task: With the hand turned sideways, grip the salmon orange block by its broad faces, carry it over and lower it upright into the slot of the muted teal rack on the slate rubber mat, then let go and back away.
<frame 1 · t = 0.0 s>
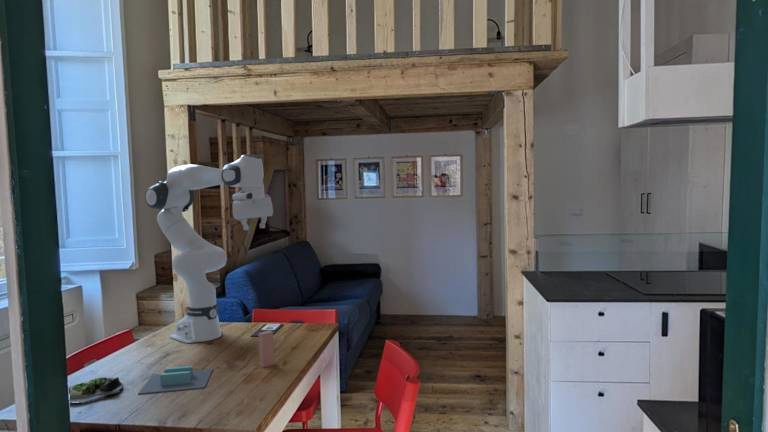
hand: (254, 229, 195), 48 cm above the table, tool pointing down, fingers open, 8 cm apart
salmon orange block: (267, 364, 176), on the table
salad plate: (94, 394, 155), on the table
chocolate bar: (267, 332, 218), on the table
mat: (177, 381, 162), on the table
slotted rack: (177, 375, 162), on the mat
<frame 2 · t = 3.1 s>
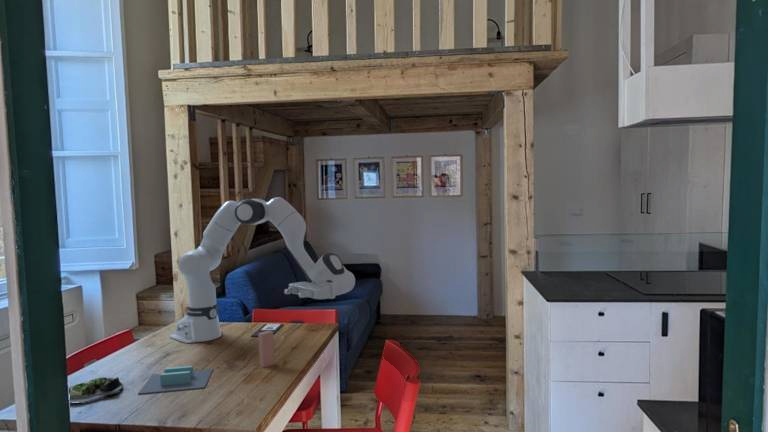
hand: (292, 293, 183), 24 cm above the table, tool horizontal, fingers open, 8 cm apart
nothing on the table moved.
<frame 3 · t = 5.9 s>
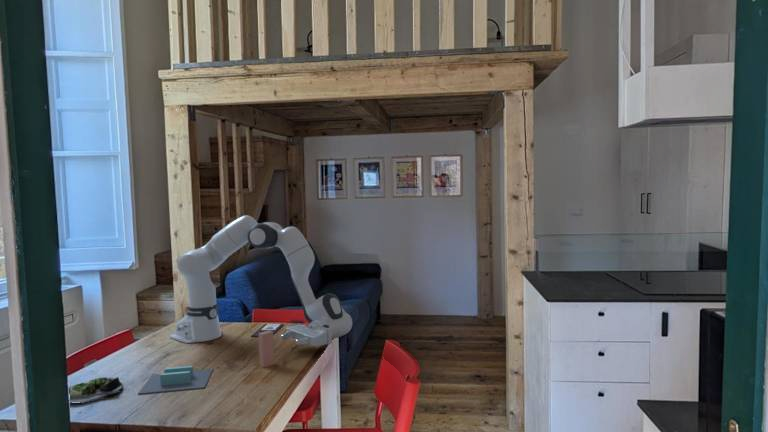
hand: (288, 339, 182), 7 cm above the table, tool horizontal, fingers open, 8 cm apart
nothing on the table moved.
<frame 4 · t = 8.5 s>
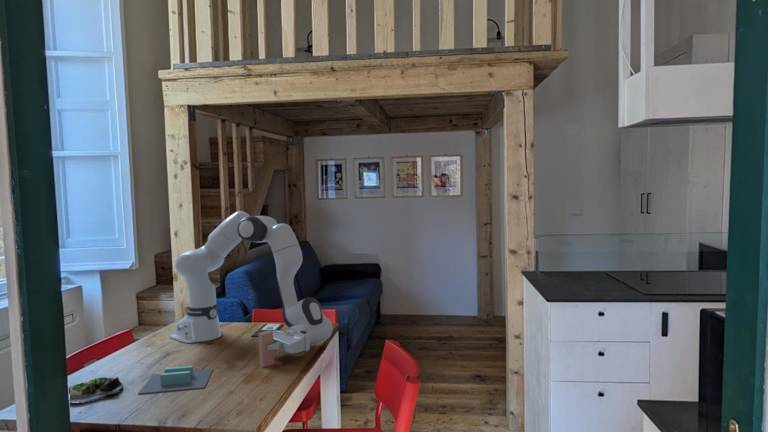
hand: (264, 346, 175), 7 cm above the table, tool horizontal, fingers closed on salmon orange block, 2 cm apart
salmon orange block: (267, 364, 176), on the table, touching gripper
everything else where it was.
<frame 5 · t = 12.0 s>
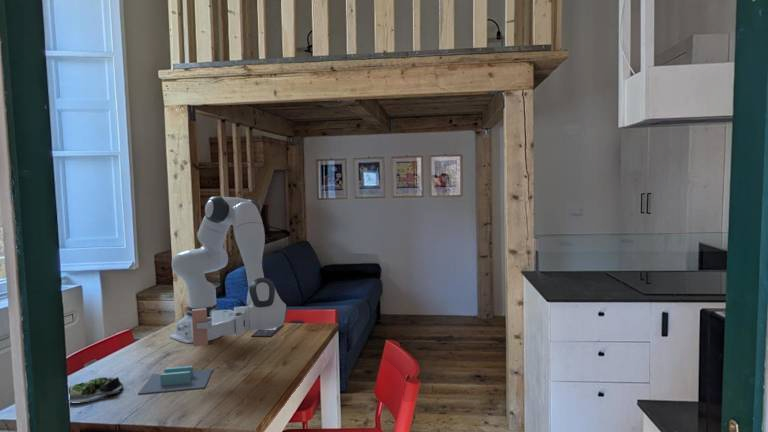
hand: (196, 324, 163), 19 cm above the table, tool horizontal, fingers closed on salmon orange block, 2 cm apart
salmon orange block: (200, 344, 163), point 12 cm above the table, touching gripper
everything else where it was.
when the fingers open (8 cm above the table, at t = 15.5 s): salmon orange block drops 1 cm, resting on mat.
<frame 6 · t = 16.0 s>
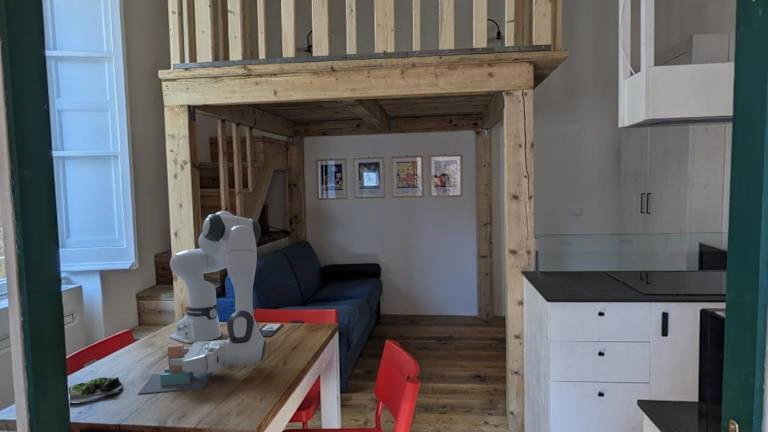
hand: (173, 357, 161), 8 cm above the table, tool horizontal, fingers open, 7 cm apart
salmon orange block: (177, 380, 162), resting on mat
everything else where it was.
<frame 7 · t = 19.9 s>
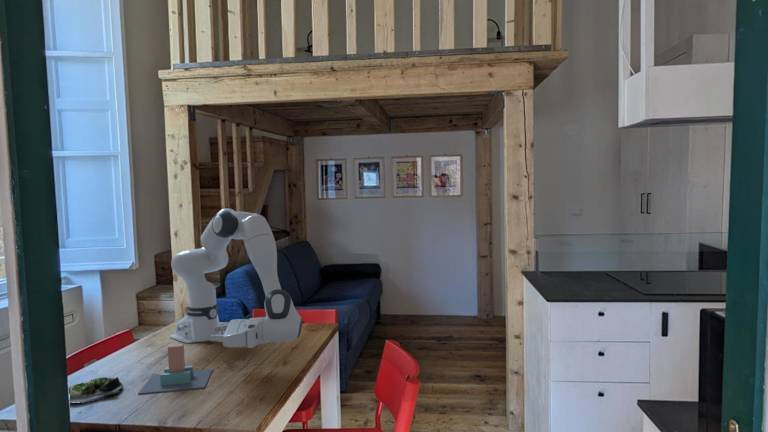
hand: (212, 333, 164), 15 cm above the table, tool horizontal, fingers open, 8 cm apart
nothing on the table moved.
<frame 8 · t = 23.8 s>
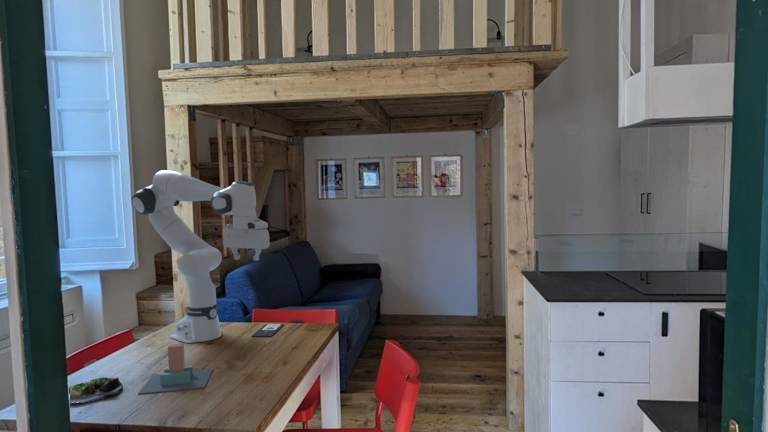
hand: (246, 259, 185), 37 cm above the table, tool pointing down, fingers open, 8 cm apart
nothing on the table moved.
at the end: salmon orange block 0.0 cm off-centre on the slotted rack, point 0.4 cm above the slotted rack's base; salmon orange block tilted 0°; the gripper is holding nothing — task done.
